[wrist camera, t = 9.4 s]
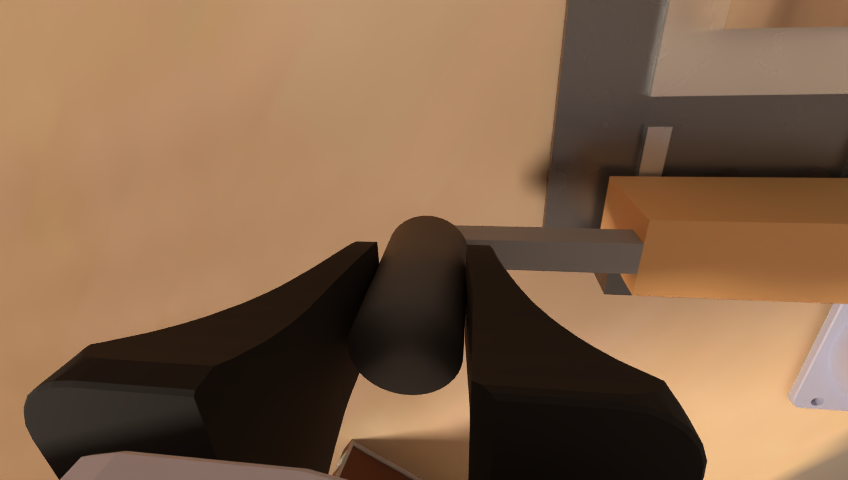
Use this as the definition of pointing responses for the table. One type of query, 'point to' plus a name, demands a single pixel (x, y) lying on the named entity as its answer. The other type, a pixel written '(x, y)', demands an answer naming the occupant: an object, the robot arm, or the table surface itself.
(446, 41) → the table surface
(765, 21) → the block
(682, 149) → the frame
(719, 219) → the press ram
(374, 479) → the food container
